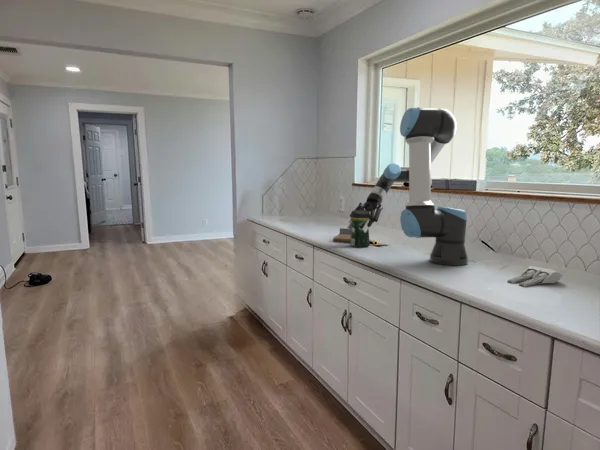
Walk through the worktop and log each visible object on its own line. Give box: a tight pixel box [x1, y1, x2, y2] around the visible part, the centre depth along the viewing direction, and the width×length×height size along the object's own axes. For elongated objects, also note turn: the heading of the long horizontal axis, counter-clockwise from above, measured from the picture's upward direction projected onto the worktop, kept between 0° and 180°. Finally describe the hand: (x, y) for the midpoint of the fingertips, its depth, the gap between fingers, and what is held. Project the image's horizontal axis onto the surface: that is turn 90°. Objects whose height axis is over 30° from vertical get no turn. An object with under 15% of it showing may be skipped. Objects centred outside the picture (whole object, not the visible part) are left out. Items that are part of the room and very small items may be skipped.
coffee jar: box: [349, 209, 370, 248], centre depth 192 cm, size 10×8×19 cm
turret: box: [507, 265, 563, 288], centre depth 133 cm, size 10×20×5 cm, turn 114°
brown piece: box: [332, 227, 352, 244], centre depth 211 cm, size 20×14×5 cm
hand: (356, 229), depth 190 cm, fingers open, 9 cm apart
